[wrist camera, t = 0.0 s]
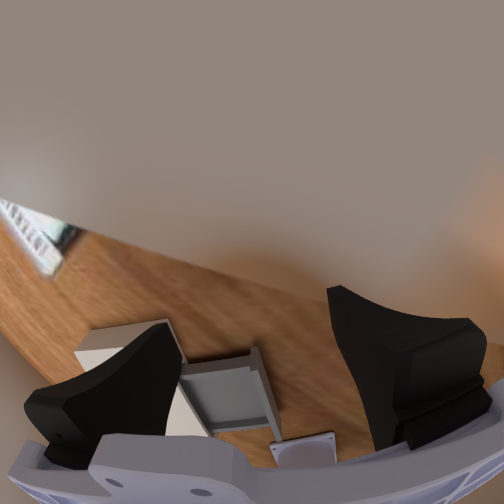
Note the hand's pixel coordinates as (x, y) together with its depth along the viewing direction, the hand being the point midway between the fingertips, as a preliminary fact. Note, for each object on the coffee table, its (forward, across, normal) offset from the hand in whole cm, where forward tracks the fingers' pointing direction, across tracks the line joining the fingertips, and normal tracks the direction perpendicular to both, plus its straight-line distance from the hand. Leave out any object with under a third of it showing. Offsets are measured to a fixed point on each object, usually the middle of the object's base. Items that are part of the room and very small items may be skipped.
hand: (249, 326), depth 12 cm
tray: (+9, +6, +13) cm, 17 cm away
